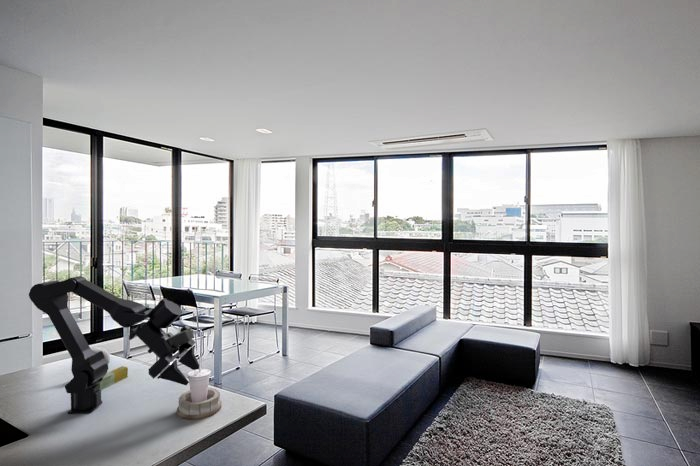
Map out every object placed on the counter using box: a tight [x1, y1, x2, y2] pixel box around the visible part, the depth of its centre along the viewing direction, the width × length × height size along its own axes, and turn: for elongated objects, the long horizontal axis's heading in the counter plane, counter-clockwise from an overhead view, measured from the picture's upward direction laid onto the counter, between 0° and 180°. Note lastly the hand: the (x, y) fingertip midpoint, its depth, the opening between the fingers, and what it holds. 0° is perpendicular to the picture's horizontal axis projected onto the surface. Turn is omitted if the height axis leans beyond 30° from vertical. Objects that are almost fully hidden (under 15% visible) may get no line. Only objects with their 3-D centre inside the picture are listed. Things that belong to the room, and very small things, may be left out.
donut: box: [90, 347, 111, 366], centre depth 139 cm, size 10×4×10 cm, turn 140°
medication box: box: [98, 365, 129, 391], centre depth 133 cm, size 12×3×4 cm, turn 166°
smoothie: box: [186, 356, 212, 402], centre depth 115 cm, size 6×6×14 cm
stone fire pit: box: [176, 387, 222, 421], centre depth 115 cm, size 12×12×4 cm
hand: (194, 377), depth 115 cm, fingers open, 9 cm apart
